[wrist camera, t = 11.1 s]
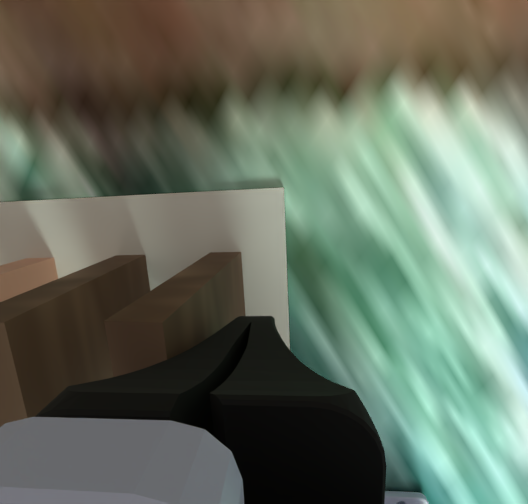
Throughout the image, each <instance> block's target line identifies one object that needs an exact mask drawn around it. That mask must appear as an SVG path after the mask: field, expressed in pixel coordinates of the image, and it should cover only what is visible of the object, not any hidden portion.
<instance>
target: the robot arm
mask: <svg viewBox="0 0 528 504" xmlns="http://www.w3.org/2000/svg"><path fill="white" fill-rule="evenodd" d="M385 479H386V462H385V453H384V449H383V446H382V443H381V440H380V437H379V435H378V432H377V430H376V428H375V426H374V424H373V422H372V420H371V418H370V416H369V414H368V412H367V410H366V408H365V407H364V405H363V403H362V402H361V400H360V398H359V397H358V395H357V393H356V392H355V391H354V390H351V389H349V388H346V387H344V386H341V385H339V384H336V383H334V382H331V381H329V380H327V379H325V378H324V377H322V376H320V375H318V374H317V373H315V372H313V371H312V370H310V369H309V368H308V367H306V366H305V365H304V364H302V363H301V362H300V361H299V360H298V359H297V358H296V357H295V356H294V355H293V353H292V352H291V351H290V350H289V348H288V347H287V346H286V344H285V343H284V341H283V340H282V338H281V336H280V334H279V333H278V331H277V328H276V326H275V319H274V318H273V317H272V316H239V317H237V318H235V319H234V320H233V321H231V322H230V323H228V324H227V325H226V326H224V327H223V328H222V329H220V330H219V331H217V332H216V333H215V334H213V335H212V336H210V337H208V338H207V339H205V340H204V341H202V342H201V343H199V344H197V345H196V346H194V347H192V348H190V349H189V350H187V351H185V352H183V353H181V354H179V355H177V356H174V357H172V358H170V359H167V360H165V361H162V362H160V363H157V364H154V365H152V366H149V367H147V368H144V369H141V370H137V371H134V372H131V373H127V374H123V375H120V376H116V377H112V378H108V379H103V380H98V381H93V382H88V383H82V384H77V385H71V386H68V387H66V388H65V389H64V390H63V391H62V392H61V393H60V394H59V395H58V396H57V397H55V398H54V399H53V400H52V401H51V402H50V403H49V404H48V405H47V406H46V407H45V408H43V409H42V410H41V411H40V412H39V413H38V414H37V415H36V416H35V417H30V418H26V419H21V420H17V421H13V422H9V423H5V424H4V425H3V426H1V427H0V504H428V501H427V499H426V497H425V495H424V494H422V493H419V492H400V491H385Z"/></svg>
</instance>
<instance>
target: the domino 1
mask: <svg viewBox="0 0 528 504" xmlns="http://www.w3.org/2000/svg"><path fill="white" fill-rule="evenodd" d="M56 279H58V275H57V270H56V265H55V260H54V258H25V259H22V260H18V261H15V262H11V263H8V264H4V265H1V266H0V302H2V301H5V300H7V299H10V298H12V297H15V296H17V295H19V294H22V293H24V292H27V291H29V290H32V289H34V288H37V287H39V286H42V285H44V284H47V283H49V282H51V281H54V280H56Z"/></svg>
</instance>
